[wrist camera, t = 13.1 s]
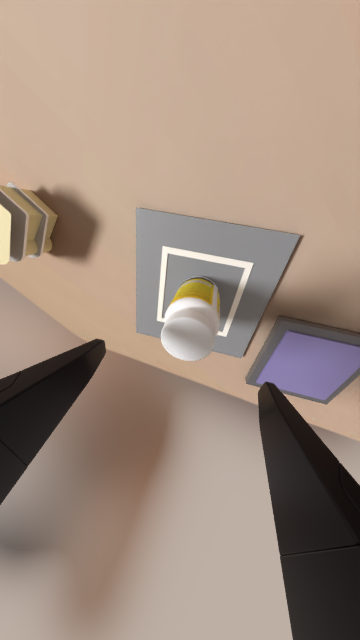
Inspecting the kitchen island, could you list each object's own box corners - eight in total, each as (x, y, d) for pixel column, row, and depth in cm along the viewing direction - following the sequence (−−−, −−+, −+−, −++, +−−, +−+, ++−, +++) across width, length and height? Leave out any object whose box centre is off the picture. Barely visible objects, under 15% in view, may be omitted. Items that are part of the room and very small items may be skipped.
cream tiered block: (8, 144, 16) (-78, 113, 11) (86, 220, 18) (40, 219, 13) (-6, 228, 21) (-70, 231, 16) (57, 280, 23) (16, 295, 18)
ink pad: (384, 338, 18) (395, 346, 17) (322, 397, 24) (327, 406, 23) (279, 315, 19) (283, 321, 18) (245, 378, 25) (246, 385, 24)
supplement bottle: (170, 290, 19) (142, 331, 12) (204, 266, 17) (193, 298, 10) (194, 320, 21) (181, 372, 14) (228, 301, 19) (233, 351, 12)
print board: (297, 234, 15) (300, 235, 14) (240, 355, 23) (241, 358, 22) (138, 207, 16) (135, 207, 16) (137, 330, 24) (136, 332, 24)
